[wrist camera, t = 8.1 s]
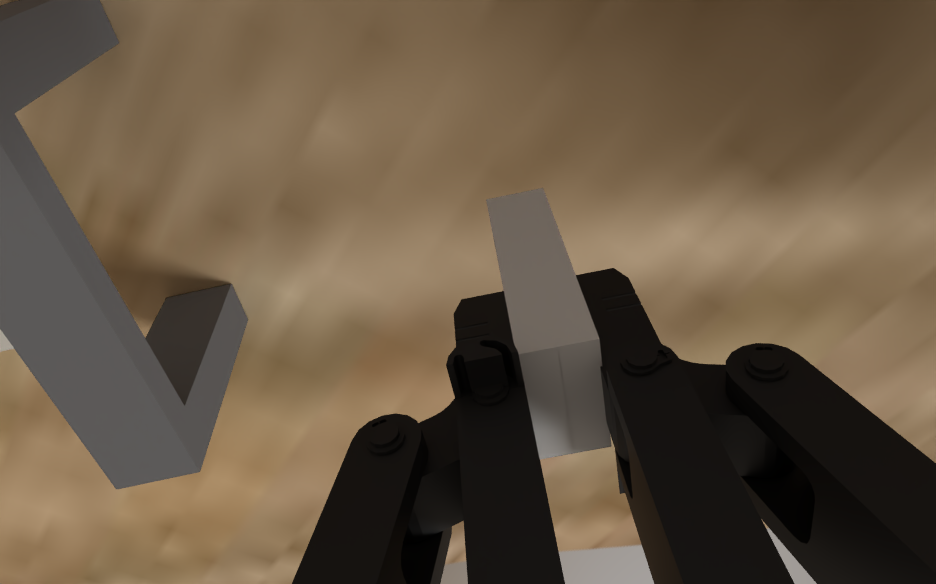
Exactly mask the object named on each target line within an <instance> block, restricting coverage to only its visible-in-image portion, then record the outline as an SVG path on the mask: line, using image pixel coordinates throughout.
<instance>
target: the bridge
mask: <svg viewBox="0 0 936 584" xmlns="http://www.w3.org/2000/svg"><path fill="white" fill-rule="evenodd" d="M118 43H119V41H118V39H117V37H116V35H115V33H114V30H113V28H112V26H111V24H110V22H109V20H108V18H107V15H106V13H105V11H104V9H103V7H102V5H101V3H100V0H19V1H15V2H10V3H7V4H4V5H1V6H0V330H1V331H2V332H3V334H4V335H5V336H6V338H7V339H8V341H9V342H10V343H11V345H12V346H13V347H14V349H15V350H16V352H17V353H18V354H19V356H20V357H21V358H22V360H23V361H24V363H25V364H26V365H27V367H28V368H29V370H30V371H31V372H32V374H33V375H34V376H35V378H36V379H37V381H38V382H39V383H40V385H41V386H42V387H43V389H44V390H45V392H46V393H47V394H48V396H49V397H50V399H51V400H52V401H53V403H54V404H55V405H56V407H57V408H58V410H59V411H60V412H61V414H62V415H63V416H64V418H65V419H66V421H67V422H68V423H69V425H70V426H71V427H72V429H73V430H74V432H75V433H76V434H77V436H78V437H79V439H80V440H81V441H82V443H83V444H84V445H85V447H86V448H87V450H88V451H89V452H90V454H91V455H92V456H93V458H94V459H95V461H96V462H97V463H98V465H99V466H100V467H101V469H102V470H103V472H104V473H105V474H106V476H107V477H108V479H109V480H110V481H111V483H112V484H113V485H114V487H115V488H116V489H121V488H126V487H131V486H135V485H140V484H145V483H150V482H154V481H159V480H164V479H169V478H173V477H178V476H183V475H187V474H192V473H197V472H200V470H201V467H202V464H203V461H204V458H205V455H206V451H207V448H208V445H209V442H210V439H211V436H212V432H213V429H214V426H215V423H216V420H217V416H218V413H219V410H220V407H221V404H222V401H223V397H224V394H225V391H226V388H227V385H228V382H229V378H230V375H231V372H232V369H233V366H234V363H235V359H236V356H237V353H238V350H239V347H240V344H241V340H242V337H243V334H244V331H245V328H246V325H247V321H248V318H247V316H246V314H245V312H244V310H243V308H242V305H241V303H240V301H239V299H238V297H237V295H236V292H235V290H234V288H233V286H232V284H228V285H223V286H219V287H214V288H210V289H205V290H200V291H196V292H191V293H187V294H182V295H178V296H173V297H168V298H166V299H165V301H164V303H163V305H162V307H161V309H160V311H159V313H158V315H157V317H156V319H155V321H154V323H153V324H152V326H151V328H150V330H149V332H148V334H147V336H146V338H145V337H144V336H143V334H142V332H141V330H140V329H139V327H138V325H137V324H136V322H135V320H134V318H133V317H132V315H131V313H130V311H129V310H128V308H127V306H126V305H125V303H124V301H123V299H122V298H121V296H120V294H119V293H118V291H117V289H116V287H115V286H114V284H113V282H112V281H111V279H110V277H109V275H108V274H107V272H106V270H105V268H104V267H103V265H102V263H101V262H100V260H99V258H98V256H97V255H96V253H95V251H94V250H93V248H92V246H91V244H90V243H89V241H88V239H87V238H86V236H85V234H84V232H83V231H82V229H81V227H80V225H79V224H78V222H77V220H76V219H75V217H74V215H73V213H72V212H71V210H70V208H69V207H68V205H67V203H66V201H65V200H64V198H63V196H62V195H61V193H60V191H59V189H58V188H57V186H56V184H55V182H54V181H53V179H52V177H51V176H50V174H49V172H48V170H47V169H46V167H45V165H44V164H43V162H42V160H41V158H40V157H39V155H38V153H37V152H36V150H35V148H34V146H33V145H32V143H31V141H30V140H29V138H28V136H27V134H26V133H25V131H24V129H23V127H22V126H21V124H20V122H19V121H18V119H17V117H16V115H15V114H14V113H16V112H17V111H19V110H20V109H22V108H23V107H25V106H26V105H28V104H29V103H31V102H32V101H34V100H35V99H37V98H38V97H40V96H41V95H43V94H44V93H46V92H47V91H49V90H50V89H51V88H53V87H54V86H56V85H57V84H59V83H60V82H62V81H63V80H65V79H66V78H68V77H69V76H71V75H72V74H74V73H75V72H77V71H78V70H80V69H81V68H83V67H84V66H86V65H87V64H89V63H90V62H92V61H93V60H95V59H96V58H98V57H99V56H101V55H102V54H104V53H105V52H107V51H108V50H109V49H111V48H112V47H114V46H115V45H117V44H118Z"/></svg>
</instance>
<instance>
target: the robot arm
mask: <svg viewBox="0 0 936 584" xmlns="http://www.w3.org/2000/svg"><path fill="white" fill-rule="evenodd" d="M486 201H487V206H488V211H489V216H490V222H491V227H492V232H493V237H494V242H495V247H496V253H497V258H498V263H499V268H500V273H501V279H502V284H503V289H504V291H502V292H497V293H492V294H487V295H482V296H477V297H472V298H467V299H462V300H461V302H460V303H459V305H458V307H457V309H456V311H455V313H454V324H455V338H456V348H455V349H454V350H453V351H452V353H451V354H450V355H449V356H448V360H447V364H446V366H447V370H448V374H449V377H450V381H451V384H452V388H453V392H454V395H455V399H454V400H453V401H452V402H451V404H450V405H449V406H448V407H447V408H445V409H444V410H443V411H442V412H440V413H438V414H437V415H435V416H433V417H431V418H429V419H426V420H424V421H422V422H420V423H418V422H417V421H416V420H415V419H413V418H411V417H410V416H408V415H402V414H390V415H384V416H381V417H378V418H376V419H374V420H372V421H369V422H368V423H367V424H366V425H364V426H363V427H362V428H361V429H359V430H358V432H357V433H356V435H355V437H354V438H353V440H352V442H351V444H350V446H349V449H348V451H347V454H346V456H345V458H344V461H343V463H342V465H341V468H340V470H339V473H338V475H337V477H336V480H335V482H334V485H333V487H332V489H331V492H330V494H329V496H328V499H327V501H326V504H325V506H324V508H323V511H322V513H321V516H320V518H319V520H318V523H317V525H316V528H315V530H314V532H313V535H312V537H311V539H310V542H309V544H308V547H307V549H306V551H305V554H304V556H303V559H302V561H301V563H300V566H299V568H298V571H297V573H296V575H295V578H294V580H293V582H292V584H440V582H441V578H442V574H443V569H444V565H445V560H446V556H447V551H448V547H449V543H450V538H451V534H452V526H453V525H455V524H457V523H459V522H461V521H463V520H464V531H465V546H466V561H467V575H468V584H565V582H564V577H563V572H562V567H561V562H560V557H559V552H558V547H557V542H556V537H555V532H554V527H553V522H552V518H551V513H550V508H549V503H548V498H547V493H546V488H545V483H544V478H543V473H542V468H541V463H540V459H545V458H551V457H556V456H562V455H567V454H573V453H578V452H583V451H589V450H594V449H600V448H605V447H611V438H610V434H611V437H612V440H613V444H614V447H615V453H616V462H617V471H618V480H619V489H620V494H621V493H625V494H626V497H627V500H628V503H629V506H630V509H631V512H632V515H633V519H634V522H635V525H636V528H637V531H638V534H639V537H640V540H641V544H642V547H643V550H644V553H645V556H646V559H647V562H648V565H649V569H650V571H651V575H652V578H653V580H654V584H794V582H793V580H792V578H791V576H790V574H789V572H788V570H787V568H786V566H785V564H784V562H783V561H782V559H781V557H780V555H779V553H778V551H777V549H776V547H775V545H774V543H773V541H772V539H771V537H770V535H769V533H768V532H767V529H766V527H765V525H764V524H763V522H762V520H763V521H764V522H765V524H766V525H767V526H768V527H769V528H770V529H771V531H772V532H773V533H774V534H775V535H776V536H777V537H778V539H779V540H780V541H781V542H782V543H783V545H784V546H785V547H786V548H787V549H788V550H789V551H790V553H791V554H792V555H793V556H794V557H795V558H796V560H797V561H798V562H799V563H800V564H801V565H802V566H803V568H804V569H805V570H806V571H807V573H808V574H809V575H810V576H811V577H812V578H813V579H814V581H815V582H816V583H817V584H936V463H935V462H933V461H932V460H931V459H930V458H928V457H927V456H926V455H925V454H923V453H922V452H921V451H920V450H918V449H917V448H916V447H914V446H913V445H912V444H911V443H909V442H908V441H907V440H906V439H904V438H903V437H902V436H901V435H899V434H898V433H897V432H896V431H894V430H893V429H892V428H891V427H889V426H888V425H887V424H886V423H884V422H883V421H882V420H881V419H879V418H878V417H877V416H876V415H874V414H873V413H872V412H871V411H869V410H868V409H867V408H866V407H864V406H863V405H862V404H860V403H859V402H858V401H857V400H855V399H854V398H853V397H852V396H850V395H849V394H848V393H847V392H845V391H844V390H843V389H842V388H840V387H839V386H838V385H837V384H835V383H834V382H833V381H832V380H830V379H829V378H828V377H827V376H825V375H824V374H823V373H822V372H820V371H819V370H818V369H817V368H815V367H814V366H813V365H812V364H810V363H809V362H808V361H806V360H805V359H804V358H803V357H801V356H800V355H799V354H797V353H795V352H794V351H792V350H790V349H788V348H786V347H782V346H779V345H775V344H763V343H755V344H751V345H746V346H742V347H740V348H738V349H737V350H735V351H733V352H732V353H731V354H730V356H729V357H728V359H727V360H726V365H715V364H699V363H692V362H688V361H684V360H681V359H679V358H678V356H677V355H676V354H675V353H674V352H673V351H672V350H671V349H670V348H668V347H666V346H664V345H662V344H661V342H660V340H659V338H658V336H657V334H656V332H655V330H654V328H653V326H652V324H651V322H650V320H649V318H648V316H647V314H646V312H645V310H644V308H643V306H642V305H641V302H640V300H639V298H638V296H637V294H636V293H635V290H634V288H633V286H632V284H631V282H630V280H629V278H628V277H626V276H625V275H623V274H622V273H620V272H619V271H617V270H616V269H614V268H611V269H606V270H601V271H596V272H591V273H585V274H580V275H575V272H574V270H573V267H572V264H571V262H570V259H569V256H568V254H567V251H566V248H565V246H564V243H563V240H562V237H561V235H560V232H559V229H558V227H557V224H556V221H555V219H554V216H553V213H552V211H551V208H550V205H549V203H548V200H547V197H546V195H545V192H544V189H543V188H540V189H535V190H531V191H526V192H521V193H516V194H511V195H506V196H501V197H496V198H492V199H487V200H486ZM761 519H762V520H761Z"/></svg>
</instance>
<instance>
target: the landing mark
mask: <svg viewBox="0 0 936 584" xmlns="http://www.w3.org/2000/svg"><path fill="white" fill-rule="evenodd" d="M9 349H14V347H13V346H12V345H11V343H10V342H9V341H8V339H7V338H6V336H5V335H4V334H3V332H2V331H1V330H0V351H5V350H9Z"/></svg>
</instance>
